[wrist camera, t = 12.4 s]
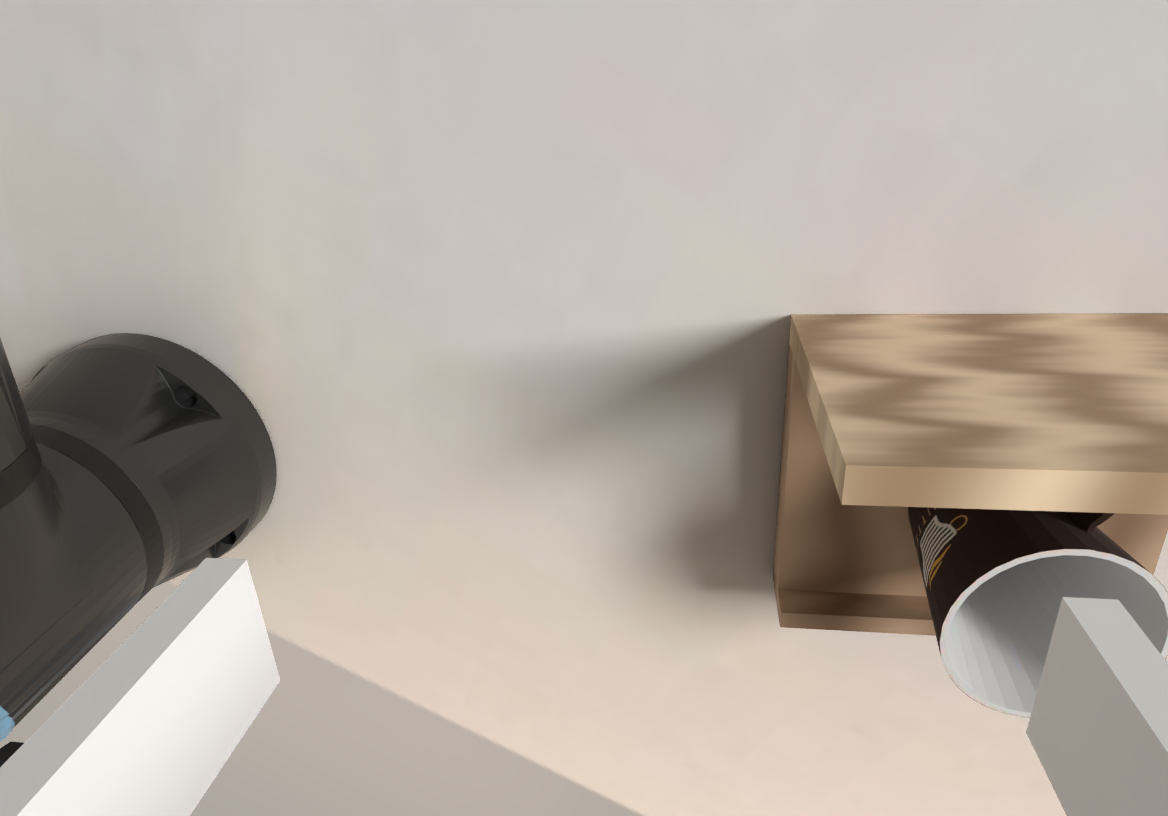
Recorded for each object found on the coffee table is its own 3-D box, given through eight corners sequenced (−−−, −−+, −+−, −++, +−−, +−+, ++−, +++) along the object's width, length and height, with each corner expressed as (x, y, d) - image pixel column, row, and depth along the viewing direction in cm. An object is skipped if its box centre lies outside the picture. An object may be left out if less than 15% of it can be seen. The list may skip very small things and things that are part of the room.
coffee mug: (960, 600, 42) (1033, 749, 33) (850, 507, 40) (894, 636, 31) (1157, 466, 37) (1304, 597, 28) (1040, 355, 36) (1156, 456, 27)
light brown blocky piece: (772, 576, 46) (807, 814, 31) (790, 314, 39) (845, 465, 25) (1115, 592, 43) (1324, 859, 29) (1199, 313, 36) (1528, 481, 22)
